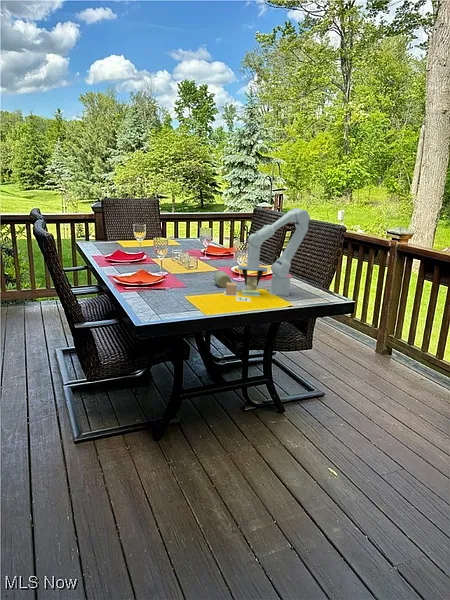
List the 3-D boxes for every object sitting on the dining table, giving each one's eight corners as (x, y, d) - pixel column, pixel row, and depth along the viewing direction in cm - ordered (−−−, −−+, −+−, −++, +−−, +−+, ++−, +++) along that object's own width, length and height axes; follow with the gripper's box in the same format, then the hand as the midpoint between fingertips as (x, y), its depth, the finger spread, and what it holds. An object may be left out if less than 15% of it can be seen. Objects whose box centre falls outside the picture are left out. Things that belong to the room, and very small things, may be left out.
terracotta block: (235, 292, 219) (236, 283, 218) (236, 295, 215) (236, 285, 213) (226, 291, 219) (226, 282, 218) (225, 294, 215) (226, 284, 213)
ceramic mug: (218, 288, 225) (219, 274, 223) (213, 284, 233) (214, 270, 230) (236, 288, 229) (238, 274, 227) (231, 284, 236) (232, 270, 234)
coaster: (259, 292, 224) (259, 291, 224) (260, 297, 216) (260, 296, 216) (241, 290, 224) (241, 290, 224) (241, 295, 216) (242, 295, 216)
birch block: (255, 286, 221) (256, 277, 220) (256, 289, 216) (257, 280, 215) (246, 286, 221) (246, 276, 220) (246, 289, 216) (247, 279, 215)
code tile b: (237, 292, 221) (237, 292, 220) (237, 296, 214) (238, 296, 214) (224, 291, 221) (224, 291, 220) (223, 295, 214) (223, 295, 214)
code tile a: (250, 298, 213) (250, 297, 213) (250, 302, 206) (250, 301, 206) (235, 297, 213) (236, 296, 213) (236, 301, 206) (236, 300, 206)
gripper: (239, 259, 211) (237, 285, 215) (268, 261, 211) (266, 287, 215) (238, 256, 218) (236, 282, 222) (267, 258, 218) (265, 284, 222)
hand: (251, 284), depth 219 cm, fingers closed on birch block, 5 cm apart
